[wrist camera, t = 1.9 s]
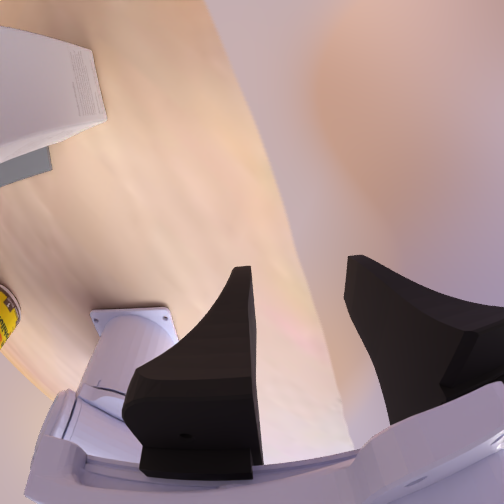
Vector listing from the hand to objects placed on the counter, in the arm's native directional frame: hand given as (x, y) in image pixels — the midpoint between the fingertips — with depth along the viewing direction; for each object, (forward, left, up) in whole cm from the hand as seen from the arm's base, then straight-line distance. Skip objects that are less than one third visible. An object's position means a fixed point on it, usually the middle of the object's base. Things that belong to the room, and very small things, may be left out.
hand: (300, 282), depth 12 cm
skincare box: (+10, +13, -11) cm, 20 cm away
